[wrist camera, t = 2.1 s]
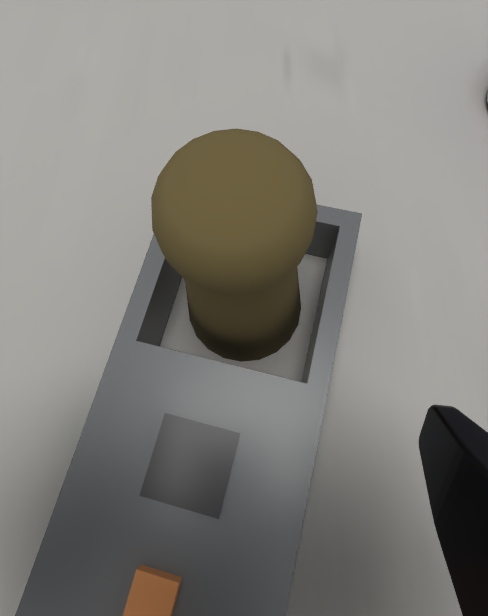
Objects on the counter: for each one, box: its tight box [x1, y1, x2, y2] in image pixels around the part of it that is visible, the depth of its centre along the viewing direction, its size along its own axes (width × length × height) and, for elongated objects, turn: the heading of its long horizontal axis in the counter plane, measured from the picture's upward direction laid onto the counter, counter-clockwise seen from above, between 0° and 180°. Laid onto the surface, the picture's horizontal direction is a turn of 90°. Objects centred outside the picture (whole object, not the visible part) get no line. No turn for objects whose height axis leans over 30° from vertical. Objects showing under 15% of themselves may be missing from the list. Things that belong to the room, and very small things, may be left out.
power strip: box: [15, 205, 362, 616], centre depth 18 cm, size 20×9×4 cm, turn 166°
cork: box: [151, 129, 318, 361], centre depth 16 cm, size 6×6×11 cm
